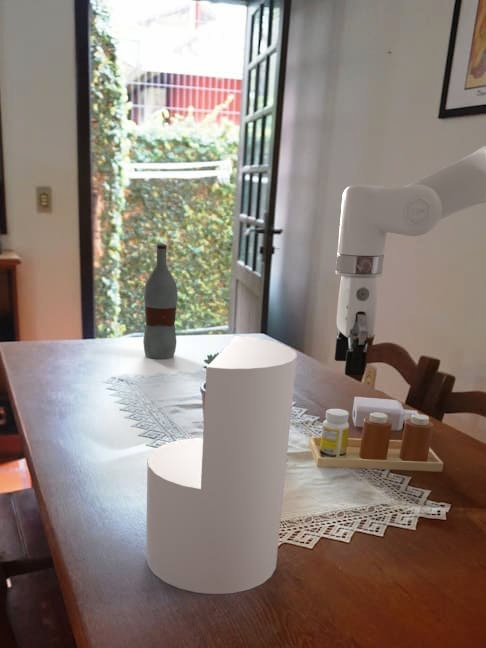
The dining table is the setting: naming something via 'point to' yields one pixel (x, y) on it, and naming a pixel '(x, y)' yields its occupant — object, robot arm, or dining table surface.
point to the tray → (356, 462)
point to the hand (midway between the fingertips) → (348, 367)
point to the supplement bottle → (335, 434)
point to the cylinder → (225, 476)
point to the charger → (380, 411)
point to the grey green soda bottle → (160, 310)
